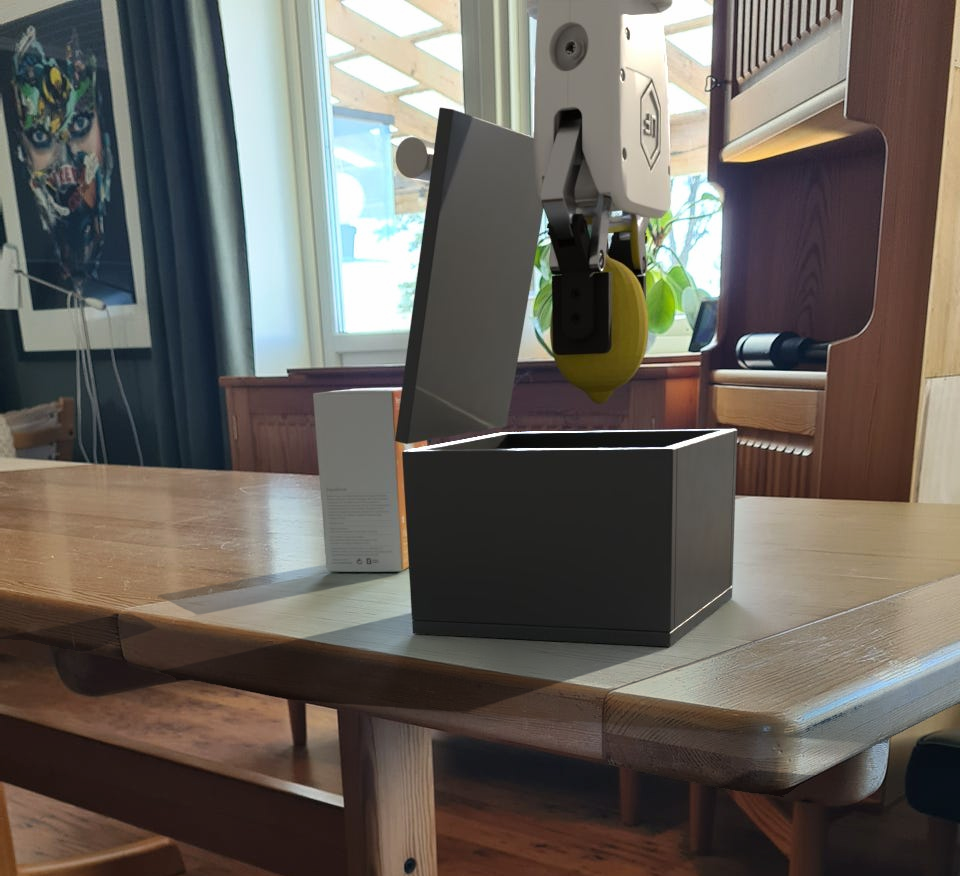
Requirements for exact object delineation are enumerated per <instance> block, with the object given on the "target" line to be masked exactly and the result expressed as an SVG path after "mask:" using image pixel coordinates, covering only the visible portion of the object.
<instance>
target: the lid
mask: <svg viewBox="0 0 960 876" xmlns="http://www.w3.org/2000/svg"><path fill="white" fill-rule="evenodd" d="M395 164H396V167H397V169H398V171H399V173H400V174H401V175H402V176H404V177H405V178H408V179H411V180H417V181H421V182H426V183H429V184H428V191H427V198H426V205H425V206H426V207H425V213H424V221H423V228H422V237H421V244H420V250H419V251H420V252H419V259H418V267H417V273H416V281H415V288H414V297H413V304H412V310H411V317H410V318H411V319H410V324H409V325H410V326H409V334H408V339H407V340H408V342H407V348H406V355H405V362H404V363H405V364H404V370H403V379H402V384H401V387H402V392H401V400H400V407H399V415H398V422H397V430H396V437H395V441H396V442H400V443H404V444H410V443H416V442H421V441H427V442H428V441H432V440H438V439H443V438H449V437H455V436H460V435H465V434H471V433H476V432H484V431H489V430H494V429H499V428H505V427H507V426H508V420H509V414H510V409H511V408H510V407H511V402H512V396H513V392H514V391H513V390H514V386H515V385H514V384H515V378H516V373H517V367H518V362H519V355H520V349H521V343H522V337H523V332H524V325H525V319H526V314H527V308H528V302H529V297H530V290H531V286H532V278H533V273H534V268H535V260H536V255H537V250H538V244H539V238H540V230H541V226H542V221H543V214H544V208H543V207H542V206H541V204H540V203H539V201H538V198H537V193H536V183H535V169H534V140H533V135H529V134H526V133H523V132H520V131H518V130H514V129H511V128H508V127H506V126H503V125H501V124H500V125H499V124H497V123H495V122H491V121H488V120H485V119H482V118H480V117H476V116H473V115H470V114H467V113H465V112H462V111H459V110H456V109H452V108H446V107H439V109H438V117H437V123H436V132H435V138H434V141H430V140H426V139H423V138H419V137H415V136H409V137H406V138H404V139H403V140H402V141H401V142H400V143H399V145H398V147H397V148H396V152H395Z"/></svg>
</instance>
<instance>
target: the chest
mask: <svg viewBox="0 0 960 876" xmlns="http://www.w3.org/2000/svg"><path fill="white" fill-rule="evenodd" d="M737 454H738V428H711V429H710V428H706V429H648V430H647V429H646V430H645V429H643V430H640V429H639V430H637V429H636V430H635V429H634V430H586V431H585V430H584V431H583V430H581V431H580V430H579V431H576V430H575V431H573V430H572V431H521V432H520V431H519V432H517V431H515V432H514V431H512V432H498V433H492V434H487V435H482V436H477V437H470V438H466V439H460V440H455V441H450V442H444V443H439V444H433V445H427V447H422V448H417V449H412V450H407V451H403V452H402V461H403V478H404V494H405V511H406V528H407V545H408V561H409V567H408V576H409V588H410V589H409V592H410V610H411V611H410V612H411V627H412V634H414V635H429V636H430V635H431V636H447V637H449V636H450V637H470V638H485V639H486V638H487V639H488V638H489V639H492V638H493V639H506V640H507V639H509V640H529V641H548V642H567V643H568V642H569V643H585V644H603V645H604V644H608V645H625V646H645V647H666V648H671V647H672V646H673V645H674V644H676V643H677V642H678V641H679V640H680V639H682V638H683V637H684V636H686V635H687V634H689V632H691V630H693V629H694V628H696V627H697V626H698V625H700V624H701V623H702V622H703V621H705V620H706V619H707V618H708V617H710V616H711V615H712V614H713V613H715V612H716V611H717V610H719V609H720V608H721V607H722V606H723V605H725V604H727V602H728V601H730V600H731V599H732V598H733V584H734V583H733V579H734V547H735V521H736V519H735V518H736V516H735V515H736V485H737V482H736V481H737V456H738V455H737Z"/></svg>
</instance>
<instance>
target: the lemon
mask: <svg viewBox="0 0 960 876" xmlns="http://www.w3.org/2000/svg"><path fill="white" fill-rule="evenodd" d="M603 272H612V346H611V349H610V351H609V352H607V353H603V354H578V355H557V354H555V352H554V351H553V326H552V311H551V314H550V321H549V338H550V348H551V352H552V357H553V359H554V362H555V365H556V367H557V368H558V371H559V372H560V373H561V375H562V376H563V377H564V379H565V380H566V381H567V382H568V383H570V384H571V385H572V386H573V387H576V388H578V389H579V390H581V391H583V392H585V394H586V395H587V396H588V398H589V399H590V400H591V401H592V402H593V403H595V404H598V405H601V404H604V403H606V402H607V401H608V399H609V398H610V397H611V395H612V394H613V393H614V392H615V391H616V390H617V389H619V388H620V387H622V386H624V385H626V384H627V383H628V382H629V381H630V380H631V379H633V377H634V376H635V374H636V373H637V372H638V370H639V369H640V367H641V365H642V363H643V360H644V357H645V355H646V351H647V347H648V341H649V340H648V339H649V313H648V306H647V300H646V301H645V297H644V293H643V290H642V287H641V285H640V283H639V281H638V279H637V278H636V276H635V275H634V274H633V272H632V271H630V270H629V269H628V268H627V267H626V266H625V265H623V264H622V263H620V262H618V261H616V260H614V259H611V258H609V256H608V255H607V254H606V260H605V268H604V270H603ZM597 273H600V272H597Z"/></svg>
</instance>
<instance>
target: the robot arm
mask: <svg viewBox="0 0 960 876" xmlns="http://www.w3.org/2000/svg"><path fill="white" fill-rule="evenodd" d="M672 4H673V0H526V13H527V15H528V16H529V17H530V18H532V19H533V20H536V25H535V26H536V29H535V30H536V31H535V43H534V44H535V45H534V69H533V71H534V72H533V111H532V112H533V116H532V117H533V118H532V119H533V121H532V122H533V125H532V126H533V127H532V128H533V131H532V132H533V133H532V134H533V135H532V137H533V140H534V169H535V183H536V193H537V198H538V201H539V203H540V204H541V206H542V207H543V208H544V209H543V212H544V213H545V216H546V219H547V224H546V229H548V231H547V232H546V234H547V236H549V240H550V247H549V248H550V249H549V260H548V261H549V262H548V263H549V269H550V273H551V312H552V326H553V351H554V352H555V354H557V355H578V354H603V353H607V352H609V351H610V349H611V346H612V272H603V270H604V268H605V260H606V254H607V255H608V256H609V258H611V259H614V260H616V261H618V262H620V263H622V264H623V265H625V266H626V267H627V268H628V269H629V270H630V271H632V272H633V274H634V275H635V276H636V278H637V279H638V281H639V283H640V285H641V287H642V290H643V293H644V297H645V301H646V302H647V271H648V259H647V244H648V235H647V231H648V227H649V225H650V221H651V220H650V219H662V218H664V216H665V215H666V214H667V213H668V211H669V210H670V207H671V203H672V200H671V199H672V198H671V197H672V195H671V194H672V192H671V191H672V190H671V189H672V186H671V185H672V183H671V181H672V180H671V144H670V143H671V142H670V141H671V139H670V108H669V107H670V105H669V104H670V102H669V81H668V80H669V79H668V78H669V77H668V65H667V52H666V41H665V31H664V24H663V23H664V22H663V16H662V14H661V13H663V12H665V11H667V10H668V9H670V7H672ZM612 212H622V213H621V215H614V216H611V213H612ZM588 227H590V228H591V231H589V228H588ZM590 232H591V233H590ZM609 234H612V235H611V237H610V240H611V241H610V243H609ZM597 272H600V273H597Z"/></svg>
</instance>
